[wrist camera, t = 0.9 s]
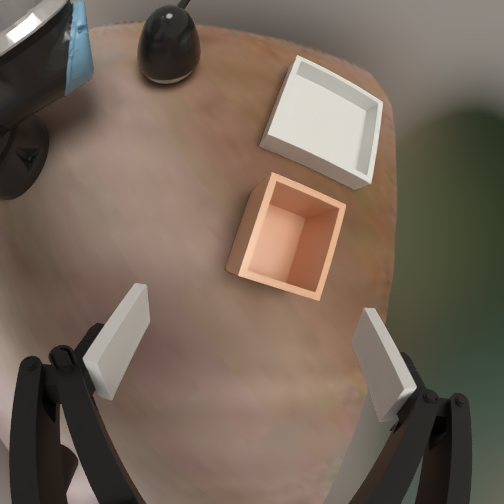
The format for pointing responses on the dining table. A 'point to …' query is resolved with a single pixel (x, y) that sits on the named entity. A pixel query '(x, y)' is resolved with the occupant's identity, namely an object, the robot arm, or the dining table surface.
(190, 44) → the pump dispenser
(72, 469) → the bottle
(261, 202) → the terracotta crate
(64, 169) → the dining table surface
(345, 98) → the white tray
